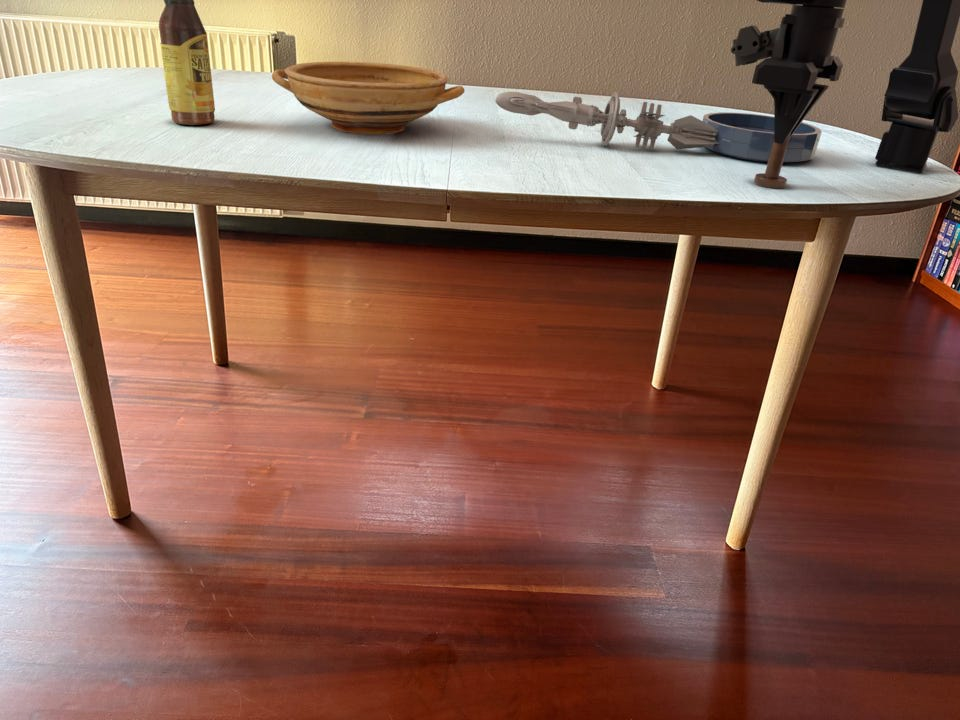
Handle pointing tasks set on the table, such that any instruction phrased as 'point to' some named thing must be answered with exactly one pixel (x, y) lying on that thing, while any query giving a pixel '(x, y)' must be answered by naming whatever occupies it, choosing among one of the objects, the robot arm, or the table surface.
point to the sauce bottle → (186, 64)
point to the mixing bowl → (759, 137)
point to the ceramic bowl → (366, 93)
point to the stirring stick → (774, 167)
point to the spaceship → (615, 120)
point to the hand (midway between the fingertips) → (780, 142)
